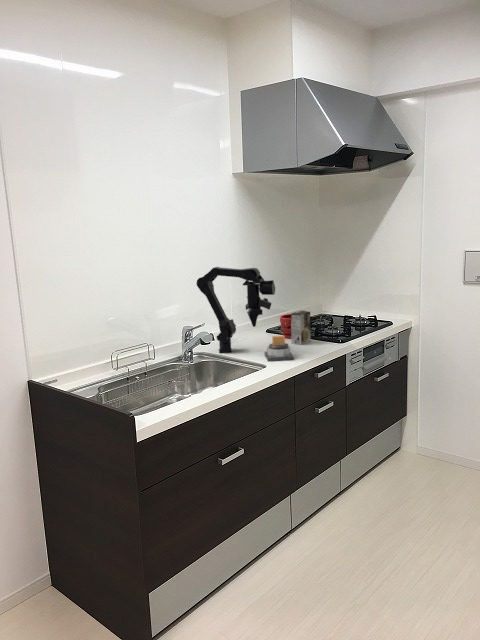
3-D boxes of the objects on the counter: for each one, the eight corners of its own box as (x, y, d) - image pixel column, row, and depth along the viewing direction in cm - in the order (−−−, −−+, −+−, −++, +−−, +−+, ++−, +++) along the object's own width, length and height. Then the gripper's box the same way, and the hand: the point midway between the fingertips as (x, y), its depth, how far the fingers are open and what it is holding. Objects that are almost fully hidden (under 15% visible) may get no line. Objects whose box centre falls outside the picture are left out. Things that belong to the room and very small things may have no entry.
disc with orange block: (267, 349, 257) (267, 334, 256) (286, 348, 258) (286, 333, 257) (270, 353, 248) (270, 339, 247) (289, 352, 249) (289, 338, 248)
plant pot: (283, 334, 303) (283, 313, 301) (307, 335, 299) (306, 313, 296) (277, 339, 291) (277, 317, 289) (301, 340, 287) (301, 318, 284)
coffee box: (300, 340, 287) (300, 310, 284) (311, 341, 283) (310, 311, 280) (291, 343, 280) (290, 313, 277) (301, 345, 276) (301, 314, 273)
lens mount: (264, 354, 259) (264, 344, 258) (289, 353, 260) (289, 343, 259) (267, 361, 247) (267, 350, 246) (293, 359, 248) (293, 349, 247)
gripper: (272, 296, 250) (273, 329, 253) (267, 291, 268) (268, 322, 271) (248, 297, 249) (249, 330, 252) (245, 292, 267) (245, 323, 270)
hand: (254, 326), depth 261 cm, fingers closed
